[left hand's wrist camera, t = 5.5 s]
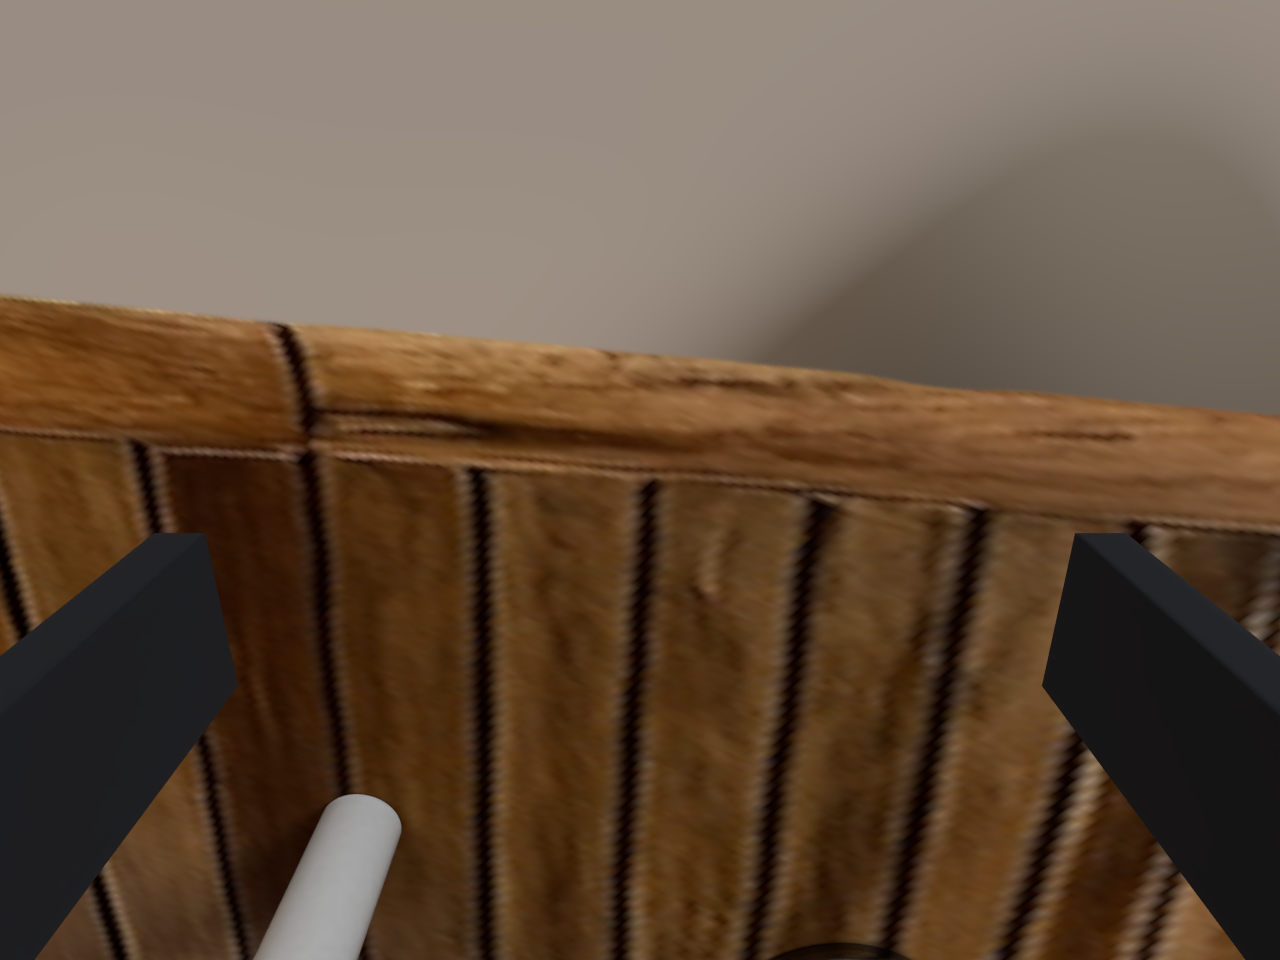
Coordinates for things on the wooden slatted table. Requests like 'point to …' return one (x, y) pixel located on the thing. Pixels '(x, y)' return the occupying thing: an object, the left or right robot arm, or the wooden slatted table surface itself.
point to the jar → (335, 883)
